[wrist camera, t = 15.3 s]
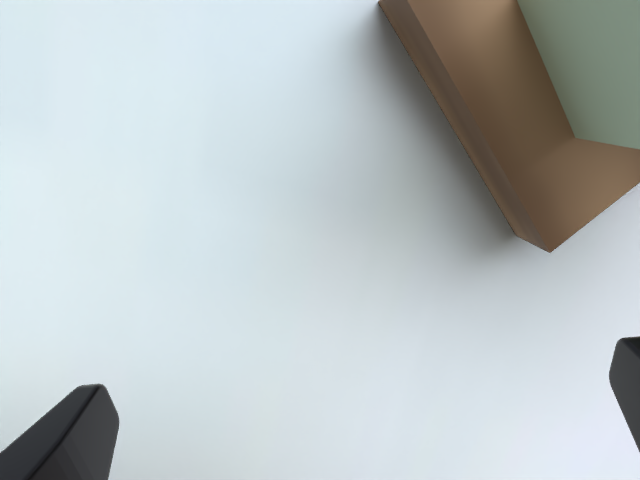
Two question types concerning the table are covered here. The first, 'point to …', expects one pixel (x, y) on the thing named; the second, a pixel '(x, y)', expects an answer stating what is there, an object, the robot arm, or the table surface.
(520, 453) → the table surface
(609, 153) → the walnut block
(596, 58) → the sage block
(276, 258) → the table surface
